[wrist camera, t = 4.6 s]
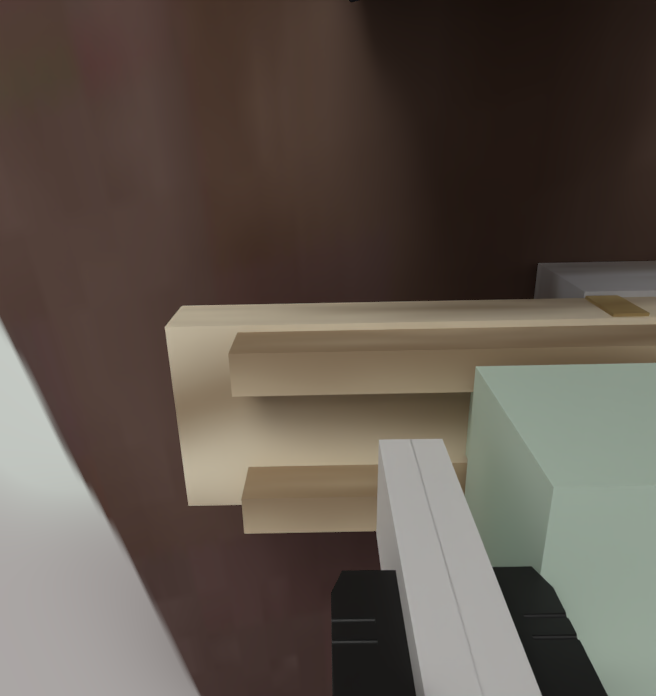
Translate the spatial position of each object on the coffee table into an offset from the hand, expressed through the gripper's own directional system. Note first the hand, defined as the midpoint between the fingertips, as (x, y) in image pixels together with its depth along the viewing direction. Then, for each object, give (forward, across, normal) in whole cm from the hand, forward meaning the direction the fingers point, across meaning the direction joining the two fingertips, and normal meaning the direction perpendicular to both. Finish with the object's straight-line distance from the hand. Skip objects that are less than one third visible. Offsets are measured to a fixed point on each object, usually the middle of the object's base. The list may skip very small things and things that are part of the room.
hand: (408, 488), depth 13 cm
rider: (+3, +4, 0) cm, 5 cm away
